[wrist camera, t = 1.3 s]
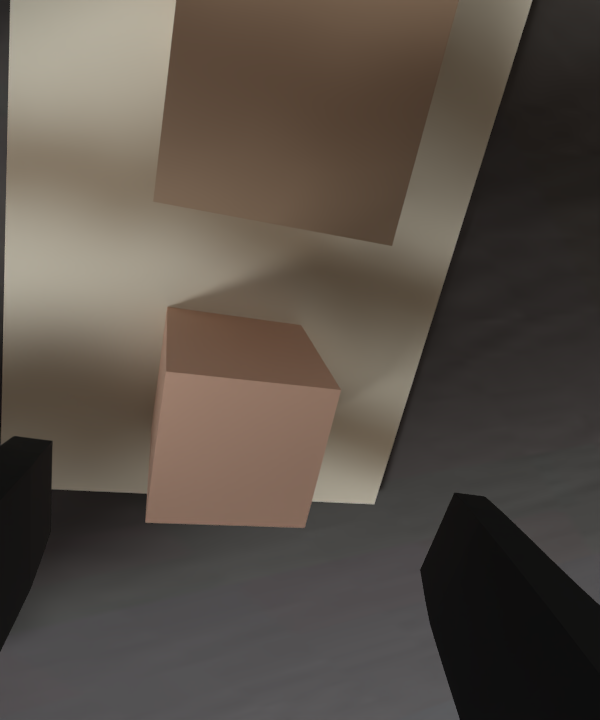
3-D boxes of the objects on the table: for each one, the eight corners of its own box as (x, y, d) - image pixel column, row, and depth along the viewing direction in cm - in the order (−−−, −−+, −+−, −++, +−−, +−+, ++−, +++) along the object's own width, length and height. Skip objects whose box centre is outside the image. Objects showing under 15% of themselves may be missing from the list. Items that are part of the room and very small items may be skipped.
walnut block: (347, 219, 18) (391, 246, 14) (156, 182, 16) (153, 201, 13) (398, 8, 16) (465, -23, 12) (184, -60, 14) (189, -118, 11)
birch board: (369, 495, 23) (374, 504, 23) (4, 476, 20) (-1, 486, 19) (542, -65, 16) (554, -72, 16) (23, -265, 13) (16, -283, 12)
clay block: (275, 438, 21) (304, 528, 16) (151, 428, 19) (145, 522, 15) (301, 325, 19) (341, 390, 15) (167, 306, 18) (165, 371, 13)
